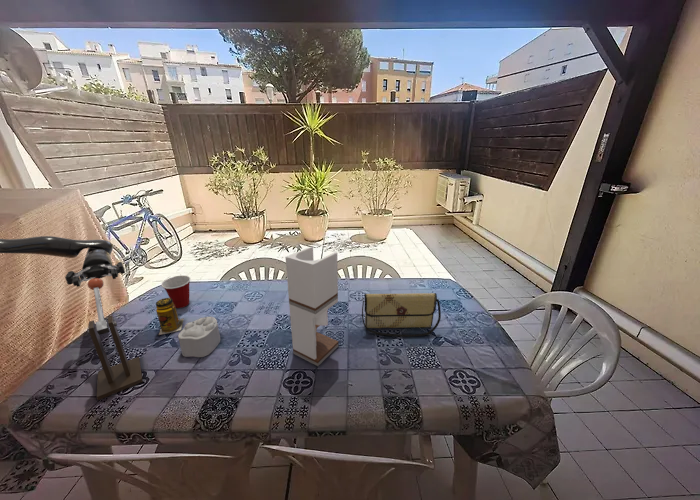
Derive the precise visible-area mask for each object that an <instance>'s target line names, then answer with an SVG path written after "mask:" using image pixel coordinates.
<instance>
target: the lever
mask: <svg viewBox="0 0 700 500" xmlns="http://www.w3.org/2000/svg"><path fill="white" fill-rule="evenodd" d="M104 284H105V283H104V281H103V279H102V278H92V279H90V280H88V281H87V287H88V289H90V290H92V291H93V293H94V299H95V300H94V301H95V307H96V313H97V320H98V321H97V322H96V321H95V325H96V328H97V332H98V334H99V336H101V335H104V334H105V335H106V334H107V333H111V331H110V328H109V325H108V320H107V319H105V315H104V309H103V303H102V295H101V291H100V290H101V289H102V288H103V287H104Z"/></svg>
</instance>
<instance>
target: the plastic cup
mask: <svg viewBox="0 0 700 500" xmlns="http://www.w3.org/2000/svg"><path fill="white" fill-rule="evenodd" d="M190 282H191V277H190V276H189V275H175V276H172V277H169V278H166V279H165V280H163V281H162V282H161V284H160V285H161V287H162V288H163V289H164V290H165V292H166V293H167V296H168V298H171V299H172V300H173V304H174V305H175V307H176V309H181V308H182V309H183V308H185V307H187V306H188V305H189V304H190Z"/></svg>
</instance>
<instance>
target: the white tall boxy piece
mask: <svg viewBox="0 0 700 500" xmlns="http://www.w3.org/2000/svg"><path fill="white" fill-rule="evenodd" d="M284 258H285V269H286V281H287V293H288V305H289V306H288V307H289V317H290V318H289V319H290V330H291V342H292V344H291V345H292V353H293V355H295V356H297V357H298V358H301V359H303V360H305V361H306V362H308V363H310V364H312V365H315V366H316V367H319V366H320V365H322V363H323V362H324V361H325V360H327V358H328V357H330V355H331V354H332V353H333V352H335V350H336V349H337V348H338V347H339V340H336V339H334V338H332V337H330V336H328V335H325V334H322V333H320V332H318V331H317V330H318V328H319V327H320V326H321V327H324V326H325V327H326V326H328V325H329V316H328V310H329V309H331V308H332V307H333V306H334V305H336V304H338V302H339V279H338V278H339V277H338V275H339V274H338V273H339V272H338V271H339V270H338V269H339V268H338V252H336V251H334V252H332V253H330V254H328V255H326V256H324V257H322V258H320V259H315V260H314V247H313V246H309V247H306V248H303V249H301V250H299V251H296V252H294V253H292V254H289V255H287V256H285V257H284Z"/></svg>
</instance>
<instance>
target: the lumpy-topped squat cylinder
mask: <svg viewBox="0 0 700 500" xmlns="http://www.w3.org/2000/svg"><path fill="white" fill-rule="evenodd" d="M177 338H178V342H179V346H180V350H181V354H182V357H185V358H189V357H195V358H203V357H207V356H208V355H210V354H211V353H213V351H214V350H215V349H216V348H217V347H218V345H219V344H220V343H221V335H220V329H219V323H218V320H217V319H216V318H215V317H214V316H205V317H199V318H198V319H196V320H193V321H190V322H187V323H185V325H184V327H183V328H182V329H181V330H180V332H179V333H178V335H177Z"/></svg>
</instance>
